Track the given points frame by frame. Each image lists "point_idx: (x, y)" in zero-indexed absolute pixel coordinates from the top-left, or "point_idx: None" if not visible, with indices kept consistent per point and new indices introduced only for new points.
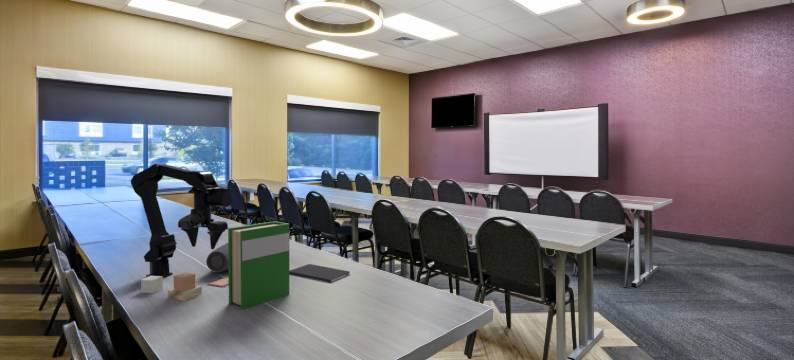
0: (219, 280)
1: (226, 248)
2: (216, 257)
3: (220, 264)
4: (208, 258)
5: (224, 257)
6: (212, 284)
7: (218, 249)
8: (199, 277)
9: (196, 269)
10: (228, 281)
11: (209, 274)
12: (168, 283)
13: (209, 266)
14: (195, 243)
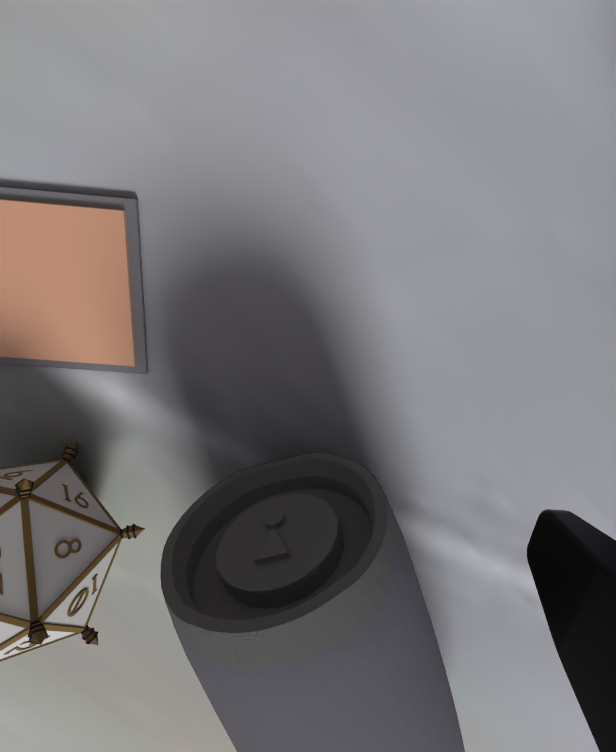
0: (115, 320)
1: (258, 741)
2: (284, 568)
3: (248, 521)
4: (372, 534)
5: (214, 599)
6: (82, 206)
7: (292, 683)
8: (378, 352)
9: (549, 505)
10: (16, 324)
11: (356, 442)
12: (545, 84)
13: (350, 476)
14: (551, 610)
